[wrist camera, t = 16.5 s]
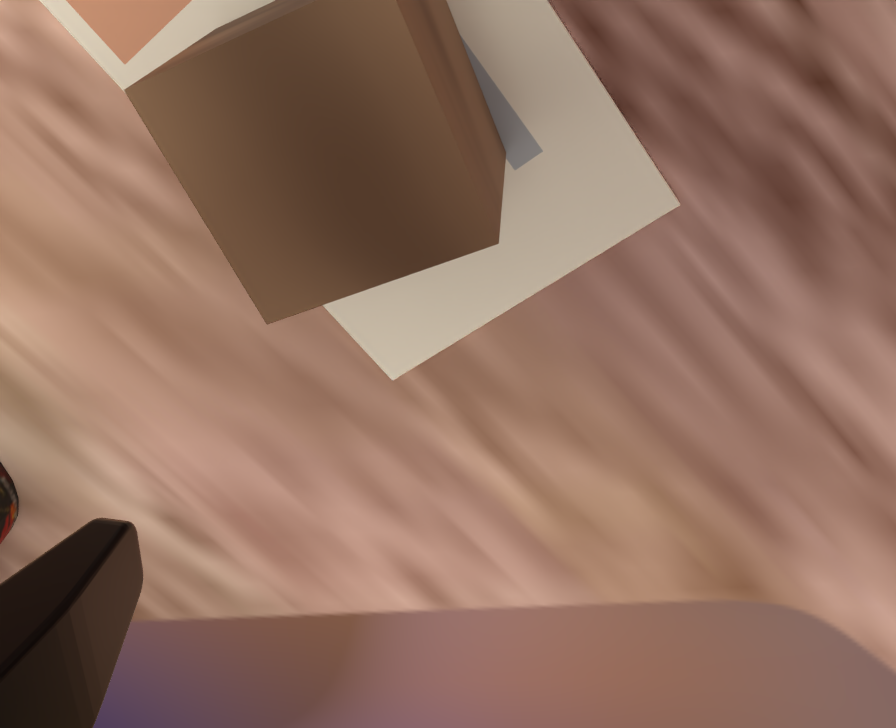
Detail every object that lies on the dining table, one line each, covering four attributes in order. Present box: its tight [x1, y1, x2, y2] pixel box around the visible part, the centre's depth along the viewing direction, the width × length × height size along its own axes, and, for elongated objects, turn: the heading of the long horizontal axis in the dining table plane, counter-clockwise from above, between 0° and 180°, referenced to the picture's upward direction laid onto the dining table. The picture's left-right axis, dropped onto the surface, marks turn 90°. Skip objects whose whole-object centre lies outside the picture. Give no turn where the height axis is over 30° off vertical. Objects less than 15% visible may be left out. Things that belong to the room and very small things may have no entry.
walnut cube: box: [124, 0, 506, 324], centre depth 17 cm, size 5×5×5 cm
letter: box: [39, 0, 680, 381], centre depth 19 cm, size 13×9×1 cm
